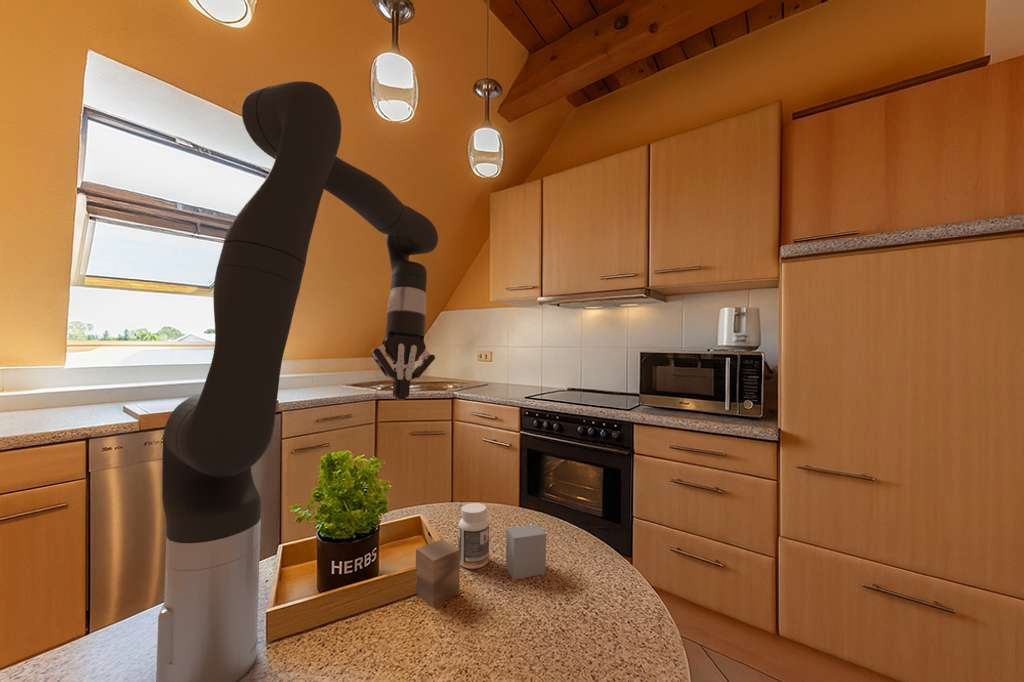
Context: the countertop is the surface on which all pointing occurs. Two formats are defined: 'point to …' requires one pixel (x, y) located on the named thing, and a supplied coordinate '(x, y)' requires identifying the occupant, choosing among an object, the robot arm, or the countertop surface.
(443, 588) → the walnut block
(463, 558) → the pill bottle
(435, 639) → the countertop surface
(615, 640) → the countertop surface
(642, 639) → the countertop surface
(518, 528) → the slate block
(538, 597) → the countertop surface
